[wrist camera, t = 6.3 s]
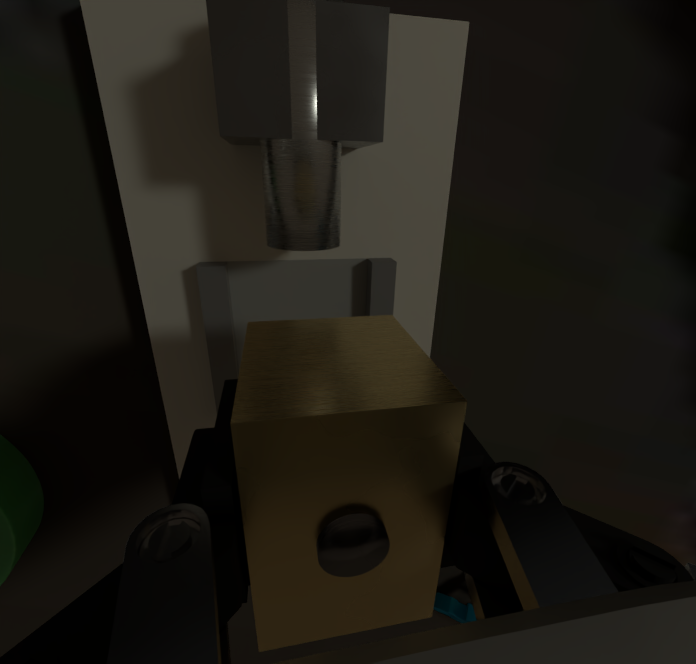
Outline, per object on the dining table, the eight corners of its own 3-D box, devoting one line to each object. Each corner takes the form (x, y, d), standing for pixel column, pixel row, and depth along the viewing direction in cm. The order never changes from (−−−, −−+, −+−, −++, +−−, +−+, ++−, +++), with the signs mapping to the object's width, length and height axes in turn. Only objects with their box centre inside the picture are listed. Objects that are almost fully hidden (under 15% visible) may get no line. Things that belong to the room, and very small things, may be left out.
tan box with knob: (248, 321, 10) (228, 433, 6) (392, 314, 11) (474, 409, 6) (263, 492, 12) (258, 666, 8) (381, 477, 13) (435, 628, 9)
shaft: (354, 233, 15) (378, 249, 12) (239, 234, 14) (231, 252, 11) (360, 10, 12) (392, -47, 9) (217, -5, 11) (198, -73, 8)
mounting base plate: (197, 528, 21) (190, 562, 19) (93, -2, 12) (61, -34, 10) (404, 497, 23) (416, 525, 21) (453, 33, 14) (481, 12, 12)
